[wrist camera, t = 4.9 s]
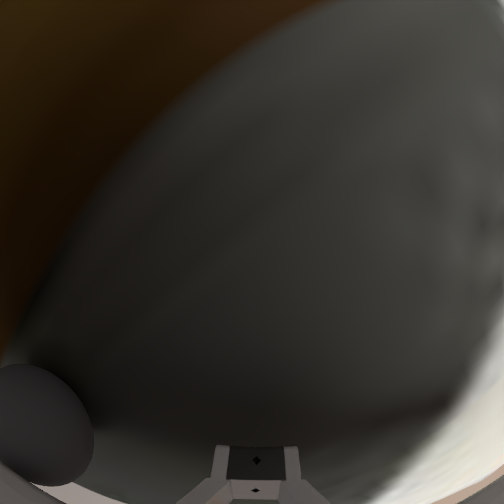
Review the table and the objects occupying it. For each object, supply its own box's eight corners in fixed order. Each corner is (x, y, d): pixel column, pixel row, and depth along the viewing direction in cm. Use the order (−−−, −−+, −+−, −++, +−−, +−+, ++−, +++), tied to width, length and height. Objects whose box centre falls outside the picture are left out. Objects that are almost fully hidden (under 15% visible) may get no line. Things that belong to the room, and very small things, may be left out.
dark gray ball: (46, 413, 11) (2, 473, 5) (10, 331, 10) (-61, 386, 4) (126, 442, 11) (88, 526, 5) (91, 354, 9) (10, 451, 3)
